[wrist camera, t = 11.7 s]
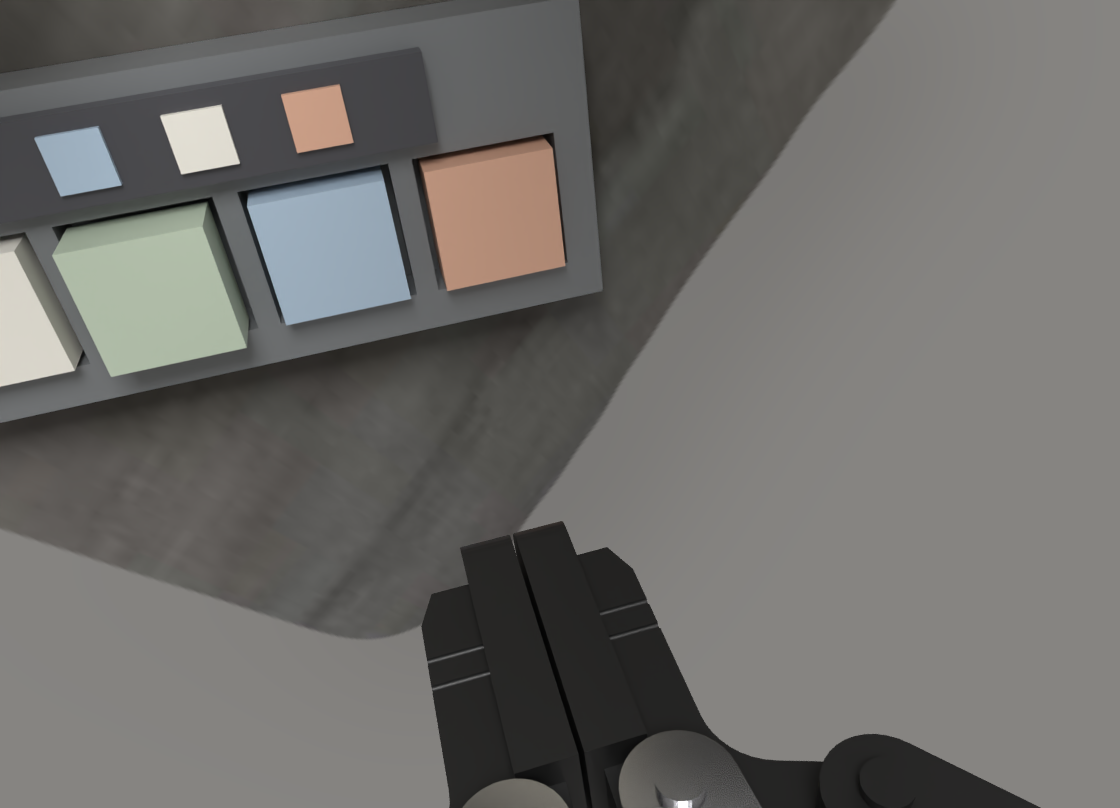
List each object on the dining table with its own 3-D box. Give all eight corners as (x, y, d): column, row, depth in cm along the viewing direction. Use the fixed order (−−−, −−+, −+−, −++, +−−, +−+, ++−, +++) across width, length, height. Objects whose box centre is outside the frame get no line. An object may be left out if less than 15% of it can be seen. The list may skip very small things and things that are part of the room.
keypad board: (-237, 111, 29) (-301, 146, 26) (557, -17, 34) (586, 0, 30) (-55, 399, 36) (-88, 455, 33) (584, 263, 40) (609, 301, 37)
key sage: (66, 227, 31) (52, 255, 29) (207, 201, 32) (201, 226, 30) (121, 344, 34) (111, 377, 32) (249, 317, 35) (246, 347, 33)
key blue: (249, 183, 33) (247, 206, 31) (378, 159, 34) (383, 180, 32) (286, 297, 36) (286, 325, 34) (404, 273, 37) (410, 298, 35)
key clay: (415, 152, 34) (423, 172, 32) (537, 129, 35) (552, 147, 33) (438, 265, 37) (447, 291, 35) (550, 242, 38) (565, 265, 36)
